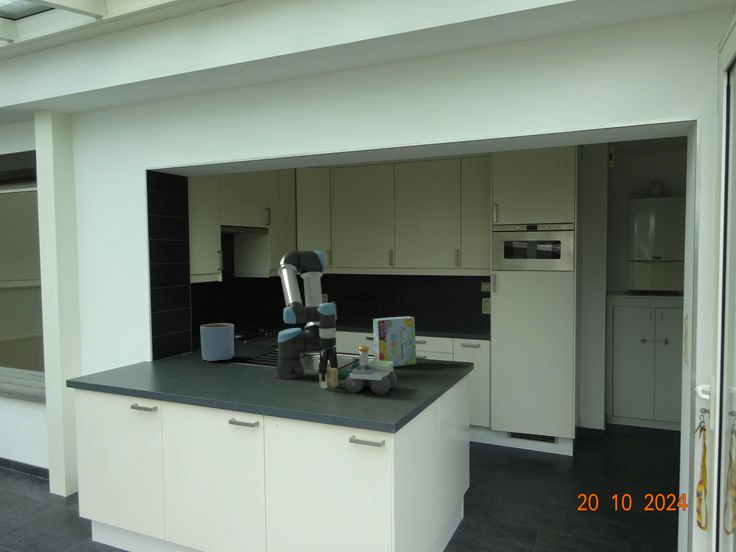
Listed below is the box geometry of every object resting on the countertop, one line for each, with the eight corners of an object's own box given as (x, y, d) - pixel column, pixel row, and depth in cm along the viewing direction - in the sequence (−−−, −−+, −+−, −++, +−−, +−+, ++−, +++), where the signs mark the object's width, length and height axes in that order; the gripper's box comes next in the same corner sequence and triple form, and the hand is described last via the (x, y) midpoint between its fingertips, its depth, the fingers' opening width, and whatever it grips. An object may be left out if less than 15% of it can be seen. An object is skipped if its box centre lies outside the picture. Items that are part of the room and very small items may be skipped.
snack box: (409, 362, 302) (409, 315, 301) (416, 364, 294) (416, 317, 293) (373, 365, 294) (372, 318, 293) (379, 368, 286) (378, 319, 285)
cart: (342, 393, 236) (342, 369, 236) (357, 384, 253) (357, 361, 253) (386, 397, 230) (386, 372, 229) (398, 386, 247) (398, 363, 246)
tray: (362, 370, 241) (362, 364, 241) (370, 365, 251) (370, 360, 251) (386, 371, 238) (386, 365, 238) (393, 366, 247) (393, 361, 247)
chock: (319, 386, 250) (319, 369, 249) (324, 384, 254) (323, 367, 254) (333, 387, 247) (333, 370, 247) (337, 385, 252) (337, 368, 252)
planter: (204, 356, 328) (203, 323, 327) (236, 355, 330) (235, 322, 329) (198, 363, 309) (197, 328, 308) (232, 361, 311) (231, 327, 310)
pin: (357, 373, 236) (356, 347, 235) (360, 370, 240) (360, 346, 239) (367, 373, 234) (366, 348, 234) (370, 371, 238) (370, 346, 238)
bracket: (370, 377, 267) (369, 361, 267) (363, 380, 261) (363, 364, 261) (338, 374, 276) (338, 358, 275) (331, 377, 270) (331, 361, 269)
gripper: (325, 341, 238) (326, 392, 239) (344, 333, 259) (345, 380, 260) (309, 340, 241) (311, 390, 242) (329, 333, 261) (330, 379, 262)
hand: (328, 385), depth 251 cm, fingers open, 9 cm apart
